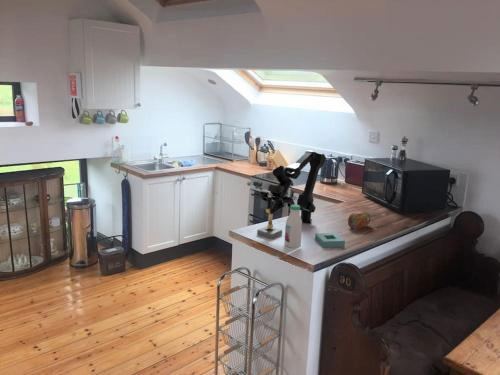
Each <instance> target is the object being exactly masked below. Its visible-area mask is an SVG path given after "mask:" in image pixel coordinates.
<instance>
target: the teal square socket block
mask: <svg viewBox="0 0 500 375" xmlns="http://www.w3.org/2000/svg"><path fill="white" fill-rule="evenodd" d="M314 239H315V241H316V242H317V243H318V244H319V246H321V247H322V248H342V247H343V248H344V247H346V240H345V239H344V238H343V237H342V236H340V234H338V232H325V233H324V232H322V233H321V232H320V233H315V234H314Z"/></svg>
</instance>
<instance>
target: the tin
mask: <svg viewBox="0 0 500 375" xmlns="http://www.w3.org/2000/svg"><path fill="white" fill-rule="evenodd" d="M370 221H371V214H370V213H369V212H367V211H359V212H355V213H354V212H353V213H351V214H349V216H348V218H347V225H348V227H349V228H351V229H354V230H356V229H361V228H366V227H368V226H369V224H370Z"/></svg>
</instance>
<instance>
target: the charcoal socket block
mask: <svg viewBox="0 0 500 375" xmlns="http://www.w3.org/2000/svg"><path fill="white" fill-rule="evenodd" d="M256 234H257V236H261V237H263V238H267V239H270V240H273V239H275V238H278V237H280V236H282V235H283V229H280V228H277V227H274V226H273V227H272V228H270V229H269V228H267V225H266V226H264V227H263V226H262V227H261V228H259V229H257V232H256Z"/></svg>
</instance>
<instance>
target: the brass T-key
mask: <svg viewBox="0 0 500 375" xmlns="http://www.w3.org/2000/svg"><path fill="white" fill-rule="evenodd" d="M273 207H274V206H273ZM273 207H270V208H266V209H265V213H267V214H268V223H267V225H266V226H267V228H269V229H270V228H272V227H274V223H273V216H274V213H273V214H271V210H272V209H273Z"/></svg>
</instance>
